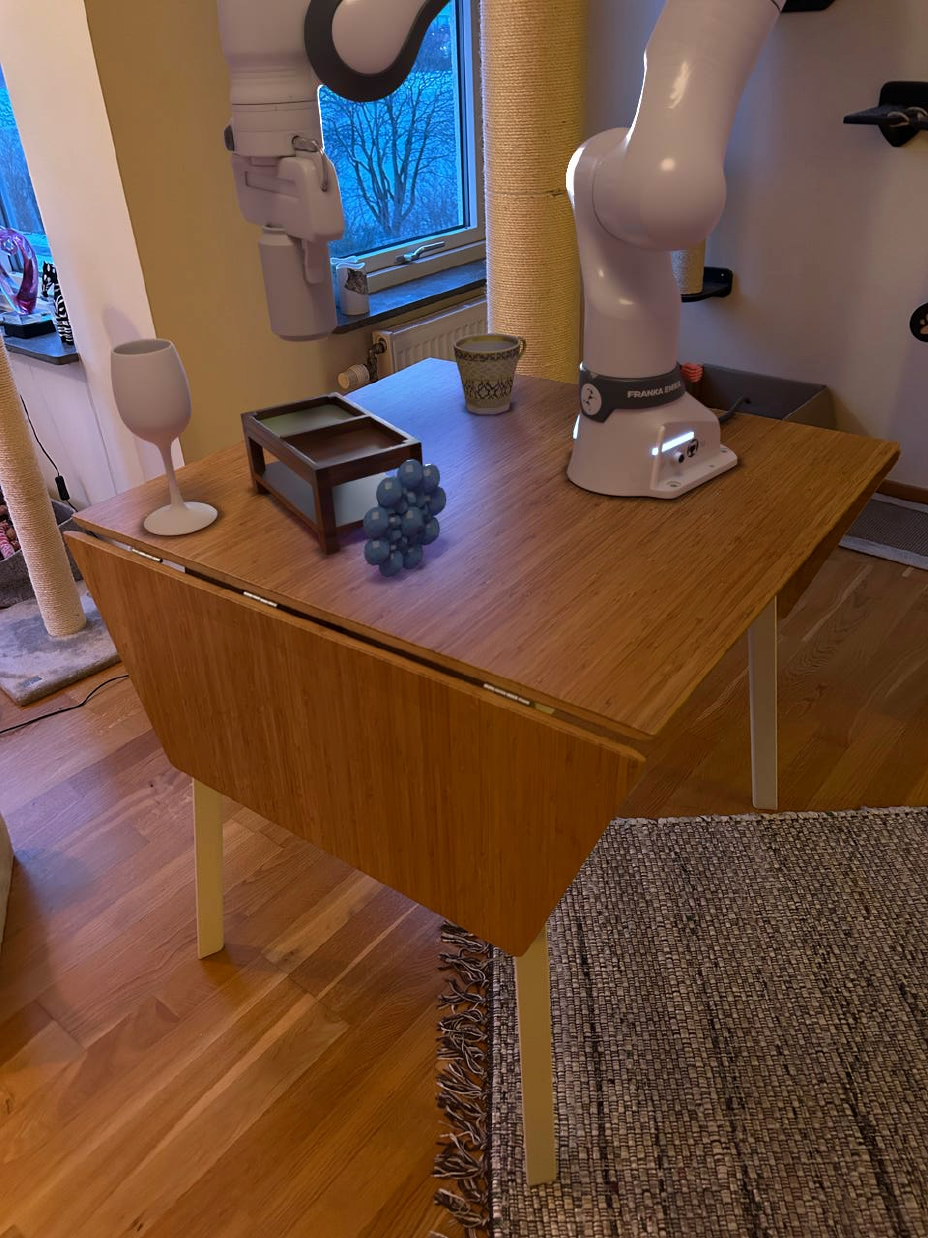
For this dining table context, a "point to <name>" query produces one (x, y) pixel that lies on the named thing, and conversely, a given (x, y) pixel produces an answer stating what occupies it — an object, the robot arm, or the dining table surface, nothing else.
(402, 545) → the grapes
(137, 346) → the wineglass
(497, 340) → the ceramic cup
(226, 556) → the dining table surface
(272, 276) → the can
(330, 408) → the tray
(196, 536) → the dining table surface
